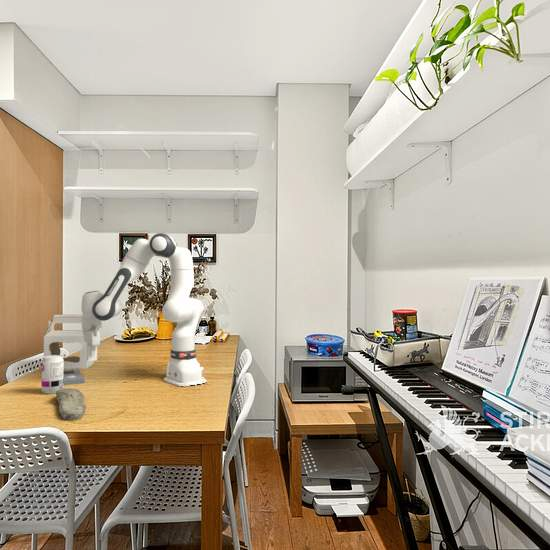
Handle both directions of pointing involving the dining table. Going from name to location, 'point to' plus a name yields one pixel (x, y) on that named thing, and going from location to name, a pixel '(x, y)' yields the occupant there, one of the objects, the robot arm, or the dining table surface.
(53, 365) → the supplement can
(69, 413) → the elongated rock
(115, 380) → the dining table surface
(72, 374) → the power board
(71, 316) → the gable box
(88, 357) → the block
